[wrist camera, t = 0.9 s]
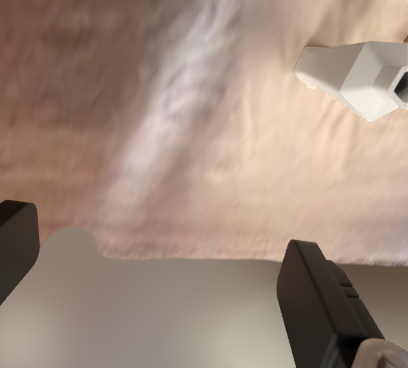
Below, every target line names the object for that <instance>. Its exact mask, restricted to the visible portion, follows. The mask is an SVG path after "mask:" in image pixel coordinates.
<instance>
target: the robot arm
mask: <svg viewBox="0 0 408 368" xmlns="http://www.w3.org/2000/svg"><path fill="white" fill-rule="evenodd" d="M39 249H40V243H39V230H38V217H37V208H36V206H35V204H33V203H28V202H21V201H14V200H5V201H3V202H2V203H0V305H1V304H2V303H3V302H4V300H5V299H6V298H7V296H9V294H10V293H11V292H12V290H14V288H15V287H16V286H17V285H18V283H19V282H20V281H21V280H22V279H23V277H24V276H25V275H26V274H27V273H28V271H29V270H30V269H31V268H32V267H33V265H34V264H35V262H36V260H37V257H38V254H39ZM277 298H278V302H279V306H280V309H281V313H282V317H283V321H284V324H285V328H286V332H287V335H288V339H289V343H290V346H291V350H292V354H293V357H294V361H295V365H296V368H408V352H407V351H406V350H405V349H403V348H401V347H400V346H398V345H396V344H394V343H392V342H389V341H386V340H385V338H384V337H383V335H382V333H381V332H380V330H379V328H378V327H377V325H376V323H375V322H374V320H373V318H372V317H371V315H370V313H369V312H368V310H367V309H366V307H365V305H364V303H363V302H362V300H361V299H359V295H358V294H357V292H356V290H355V289H354V288H352V284H351V282H350V280H349V279H348V277H347V276H346V274H345V272H344V271H342V270H341V269H340V268H339V267H338V266H337V265H336V264H335V263H334V262H332V261H331V260H326V259H325V257H324V255H323V253H322V252H321V250H320V248H319V246H318V245H317V243H315V242H308V241H301V240H293V239H292V240H290V242H289V244H288V246H287V249H286V253H285V256H284V259H283V263H282V266H281V269H280V273H279V276H278V280H277Z"/></svg>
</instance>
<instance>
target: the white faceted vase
mask: <svg viewBox="0 0 408 368" xmlns="http://www.w3.org/2000/svg"><path fill="white" fill-rule="evenodd" d="M293 74H294V75H295V76H296V77H297V78H298V79H299V80H300V81H302V82H303V83H304V84H305V85H306V86H307V87H308V88H309V89H313V88H316V87H317V88H319V89H320V90H322V91H323V92H325V93H326V94H328V95H329V96H331V97H332V98H334V99H335V100H337V101H338V102H340V103H342V104H343V105H345V106H346V107H348V108H349V109H351V110H352V111H354V112H355V113H357V114H358V115H360V116H361V117H363V118H364V119H366V120H368V121H369V122H373V121H375V120H377V119H379V118H381V117H383V116H384V115H386V114H388V113H390V112H391V111H393V110H395V109H397V108H401V109H407V108H408V43H393V42H376V41H369V42H363V43H357V44H351V45H345V46H339V47H333V48H330V47H313V46H306V47H305V48H304V49H303V52H302V54H301V56H300V58H299V60H298V62H297V64H296V66H295V68H294V71H293Z"/></svg>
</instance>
